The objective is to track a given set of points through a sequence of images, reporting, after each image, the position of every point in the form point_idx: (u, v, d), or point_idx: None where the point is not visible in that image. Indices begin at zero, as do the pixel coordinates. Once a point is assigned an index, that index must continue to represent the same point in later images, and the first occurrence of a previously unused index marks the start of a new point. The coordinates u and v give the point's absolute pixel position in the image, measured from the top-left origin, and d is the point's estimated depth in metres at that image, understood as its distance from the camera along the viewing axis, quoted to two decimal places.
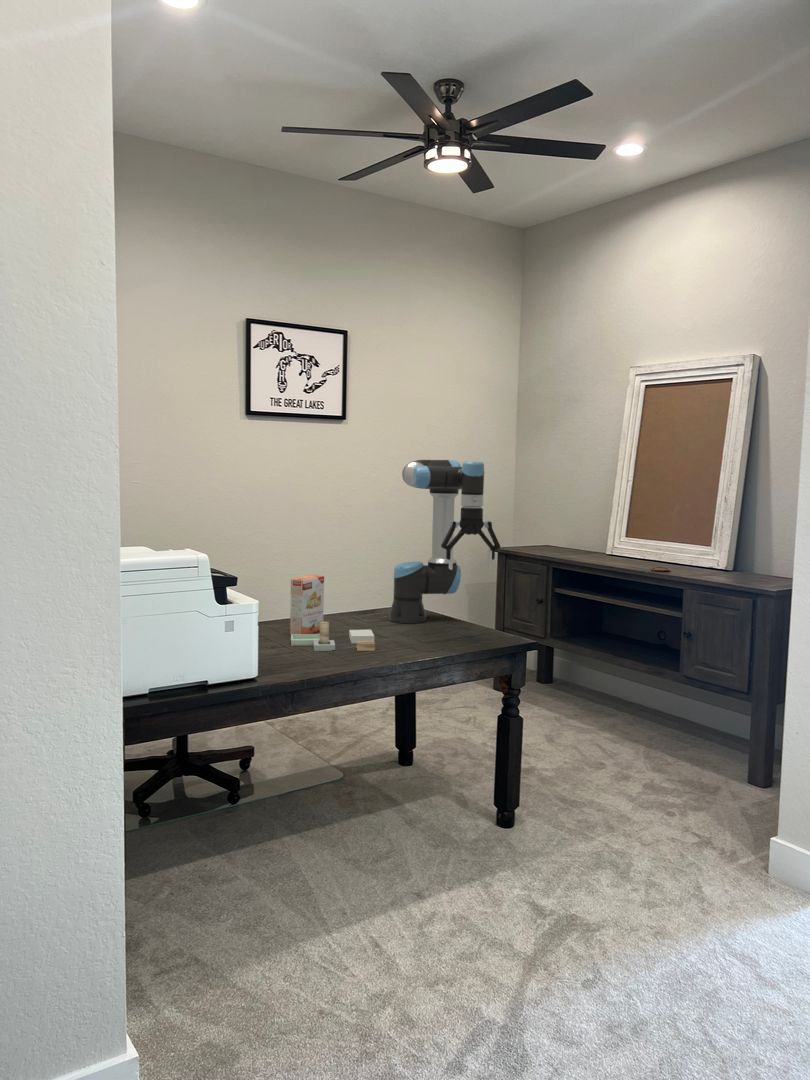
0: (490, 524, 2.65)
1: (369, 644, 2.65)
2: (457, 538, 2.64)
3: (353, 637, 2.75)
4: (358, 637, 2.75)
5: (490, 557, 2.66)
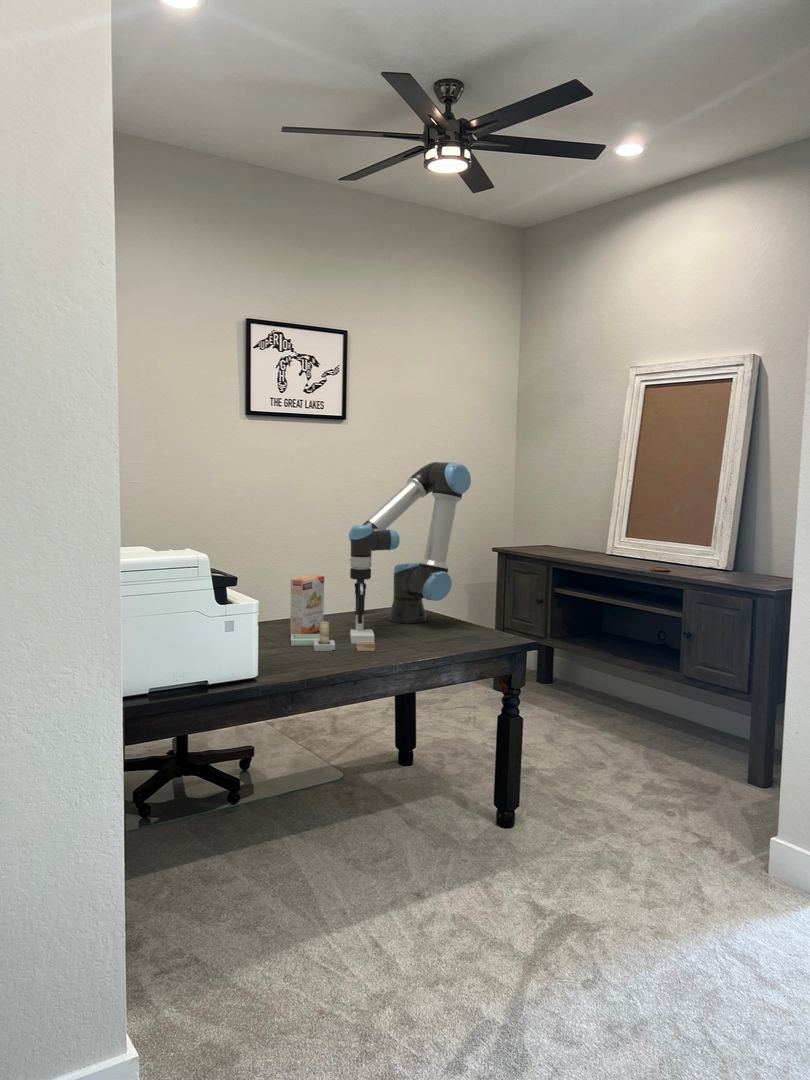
0: (358, 591, 2.78)
1: (369, 644, 2.65)
2: (356, 599, 2.85)
3: (353, 637, 2.74)
4: (358, 637, 2.75)
5: None
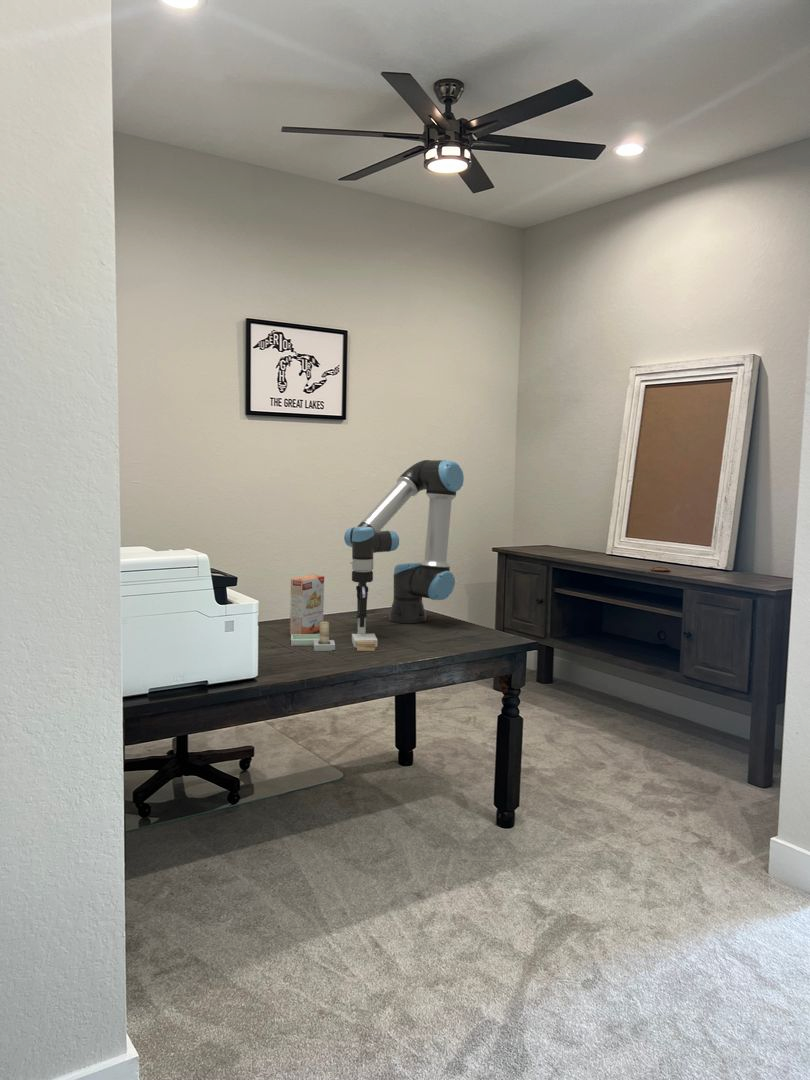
0: (360, 595, 2.73)
1: (369, 644, 2.65)
2: (358, 602, 2.80)
3: None
4: None
5: None
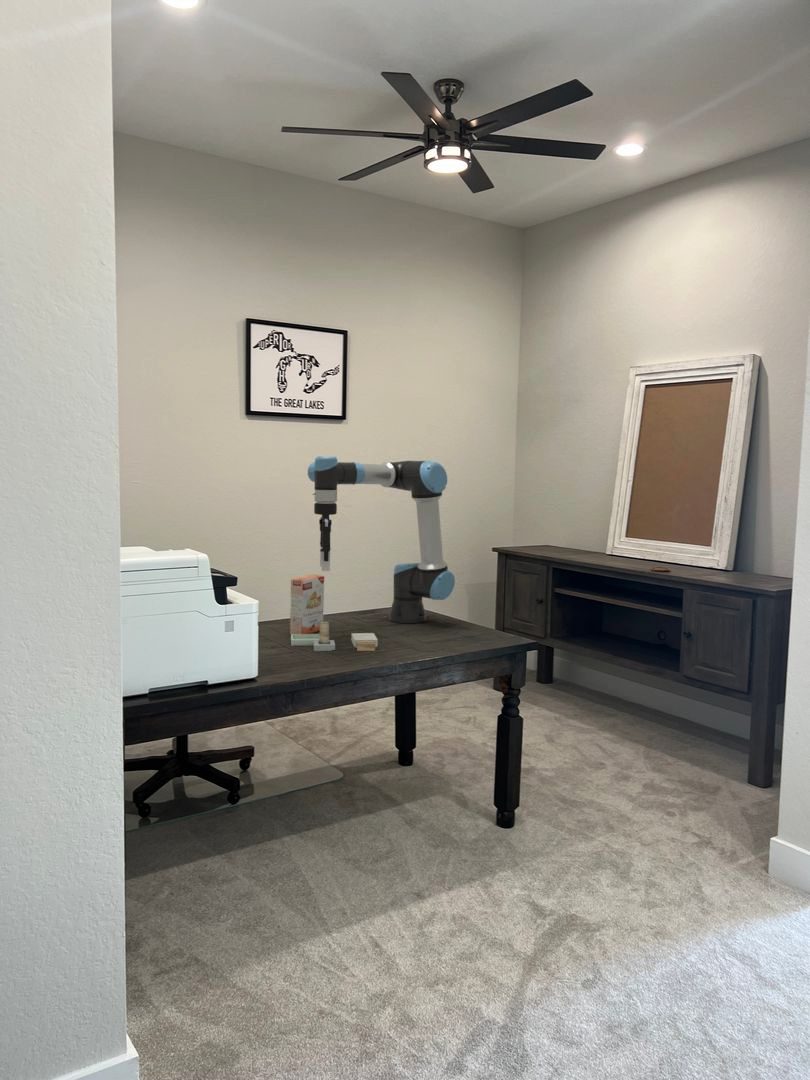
0: (322, 523, 2.56)
1: (369, 644, 2.65)
2: (321, 534, 2.67)
3: None
4: None
5: None
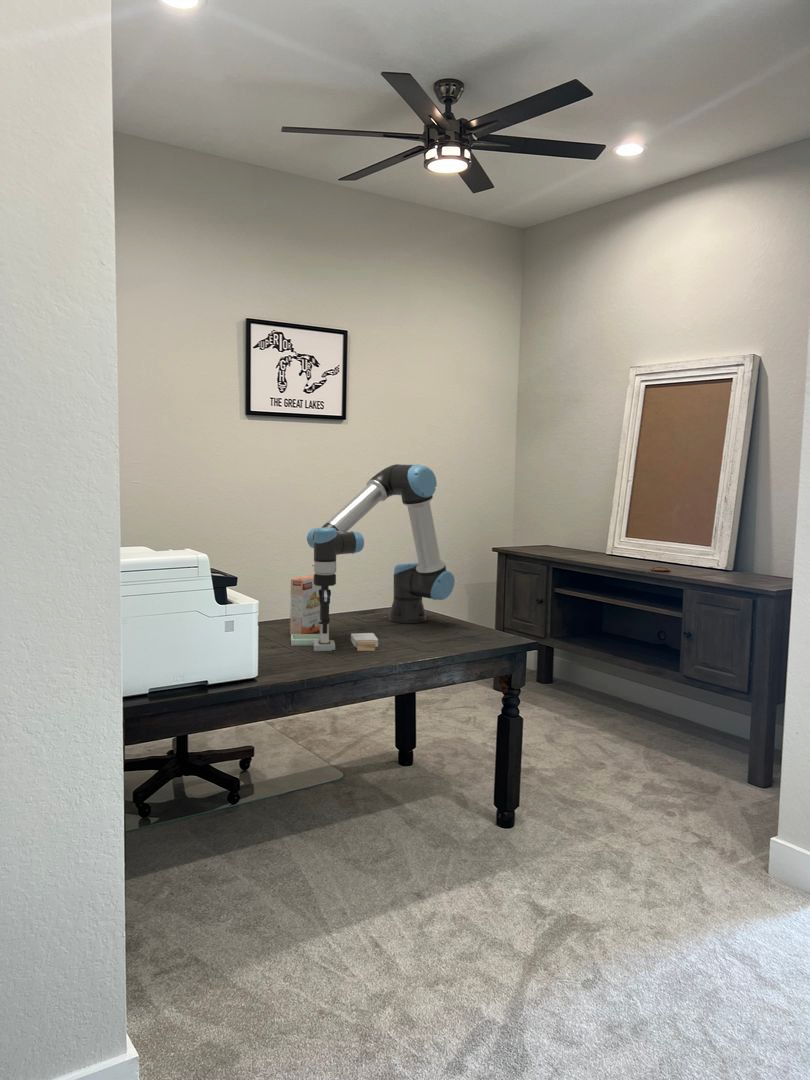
0: (321, 598, 2.59)
1: (369, 644, 2.65)
2: None
3: None
4: None
5: None
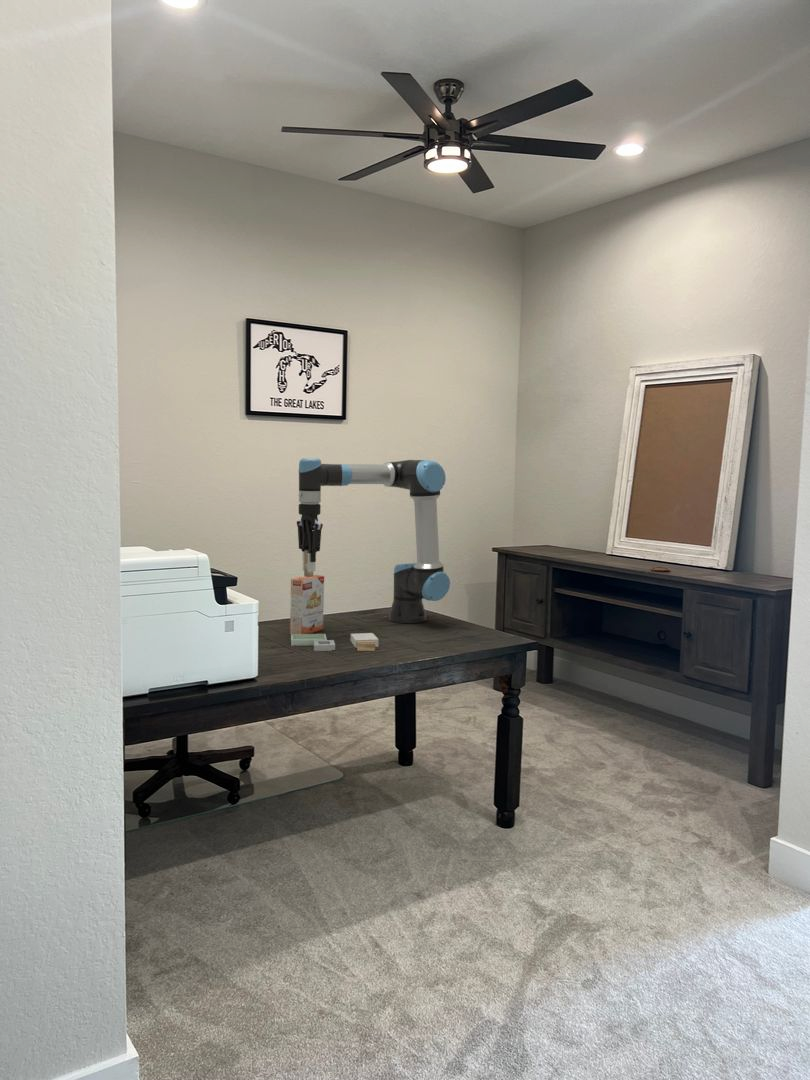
0: (315, 526, 2.65)
1: (369, 644, 2.65)
2: (303, 537, 2.71)
3: None
4: None
5: (308, 559, 2.69)
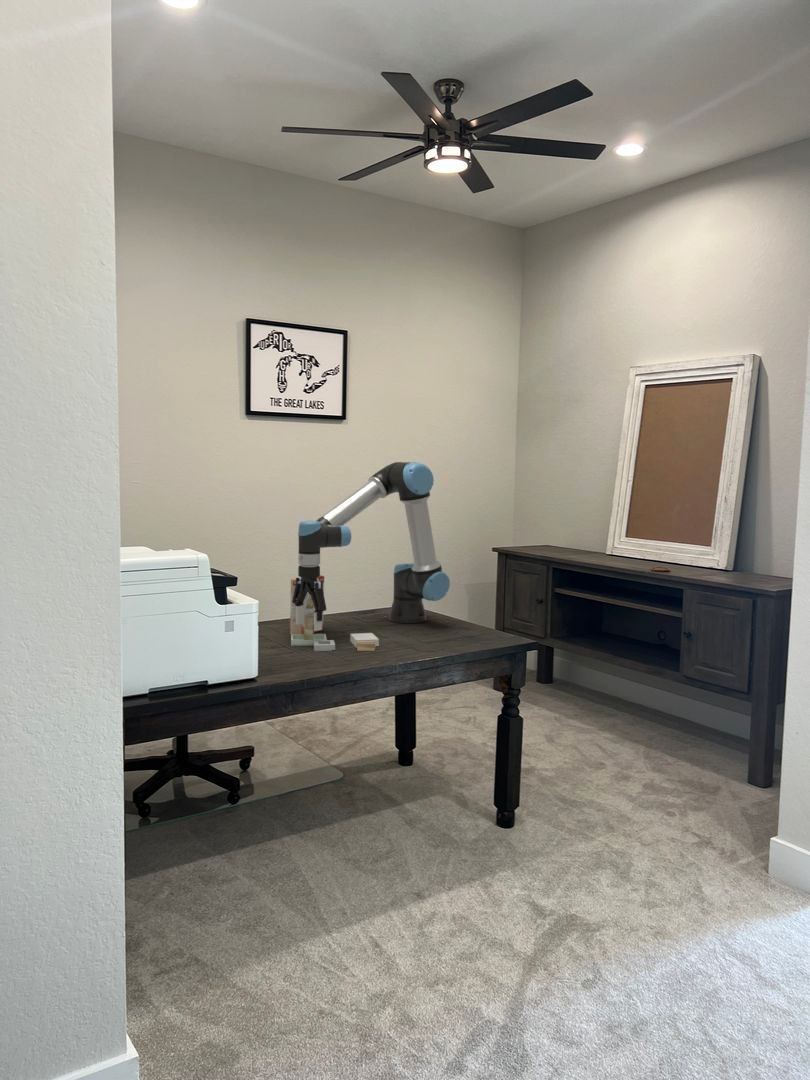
0: (315, 585, 2.67)
1: (369, 644, 2.65)
2: (299, 594, 2.76)
3: None
4: None
5: (314, 618, 2.68)
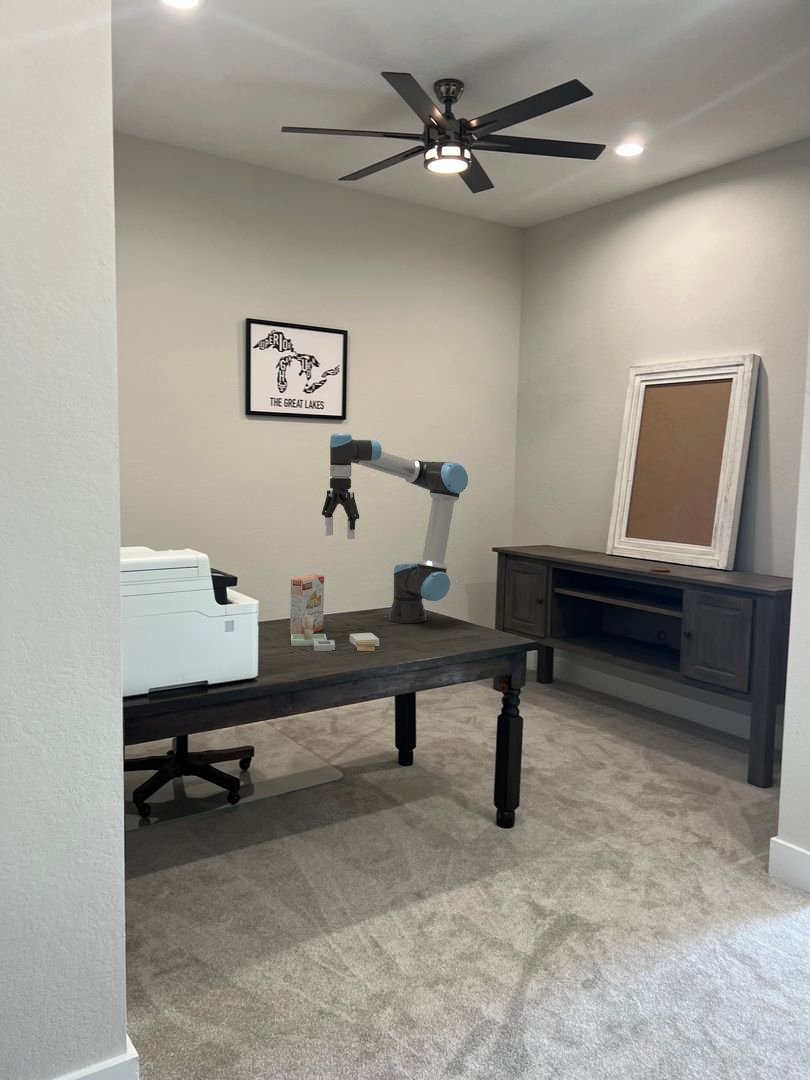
0: (347, 494, 2.71)
1: (369, 644, 2.65)
2: (329, 506, 2.80)
3: None
4: None
5: (347, 527, 2.72)
